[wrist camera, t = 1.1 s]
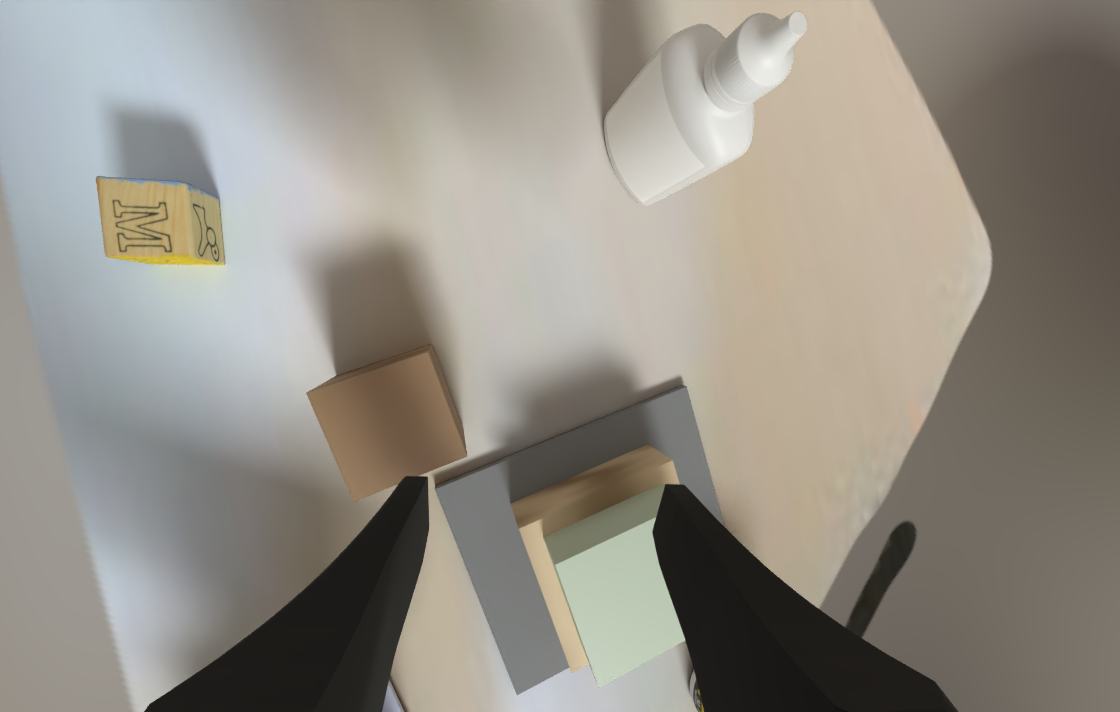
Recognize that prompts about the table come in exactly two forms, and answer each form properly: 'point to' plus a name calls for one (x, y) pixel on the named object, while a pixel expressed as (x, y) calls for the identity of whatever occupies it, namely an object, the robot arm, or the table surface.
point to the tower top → (616, 586)
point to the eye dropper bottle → (696, 103)
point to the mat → (488, 491)
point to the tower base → (575, 504)
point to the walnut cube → (389, 421)
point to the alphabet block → (159, 222)
